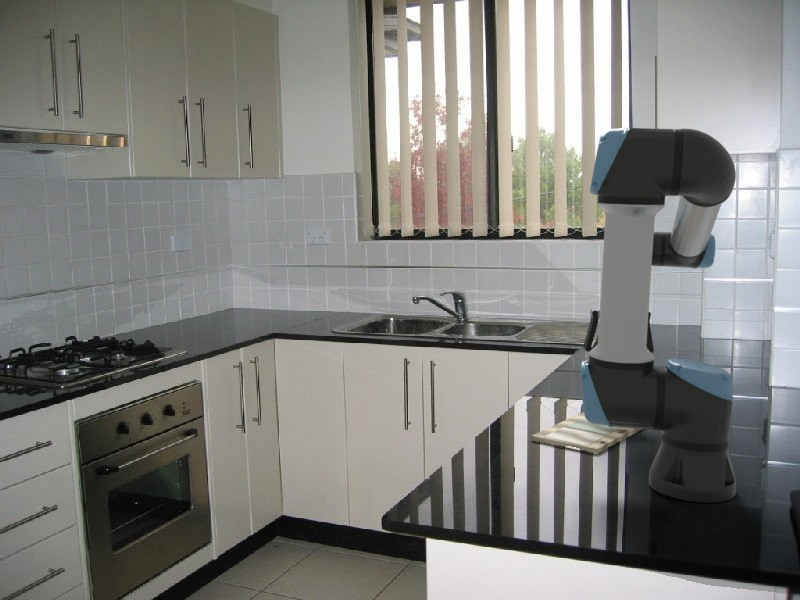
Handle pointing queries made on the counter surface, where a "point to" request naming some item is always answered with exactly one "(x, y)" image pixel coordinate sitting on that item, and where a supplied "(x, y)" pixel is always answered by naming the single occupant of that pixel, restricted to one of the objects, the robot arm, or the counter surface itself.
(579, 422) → the board
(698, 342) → the counter surface
